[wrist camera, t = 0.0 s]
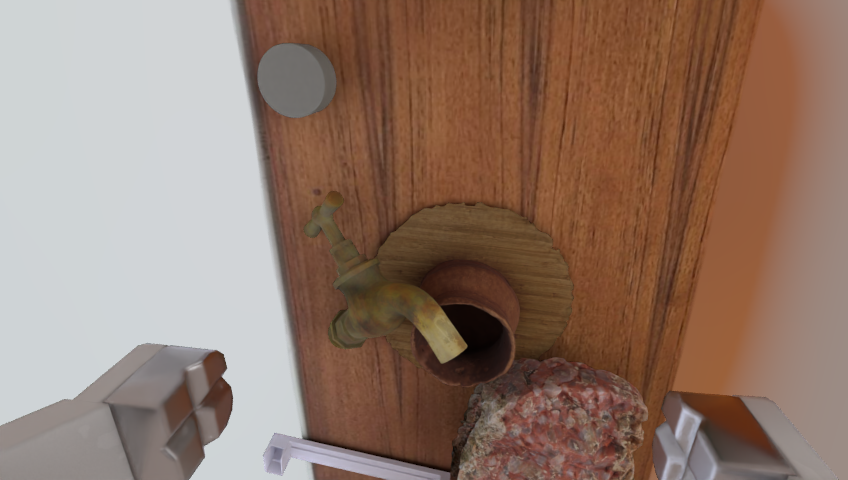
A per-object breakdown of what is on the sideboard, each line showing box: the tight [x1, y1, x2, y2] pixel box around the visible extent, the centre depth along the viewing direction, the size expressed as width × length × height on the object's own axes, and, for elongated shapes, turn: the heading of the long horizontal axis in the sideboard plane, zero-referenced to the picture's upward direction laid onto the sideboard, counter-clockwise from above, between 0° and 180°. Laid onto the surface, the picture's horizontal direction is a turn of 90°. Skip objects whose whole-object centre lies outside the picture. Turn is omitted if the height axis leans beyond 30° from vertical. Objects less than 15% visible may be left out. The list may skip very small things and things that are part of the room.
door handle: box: [263, 433, 450, 480], centre depth 47 cm, size 21×3×3 cm
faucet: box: [304, 191, 467, 363], centre depth 36 cm, size 15×4×15 cm
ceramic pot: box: [375, 202, 574, 387], centre depth 36 cm, size 18×18×7 cm
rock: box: [450, 357, 648, 480], centre depth 39 cm, size 17×10×15 cm
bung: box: [257, 43, 336, 118], centre depth 32 cm, size 5×5×4 cm
